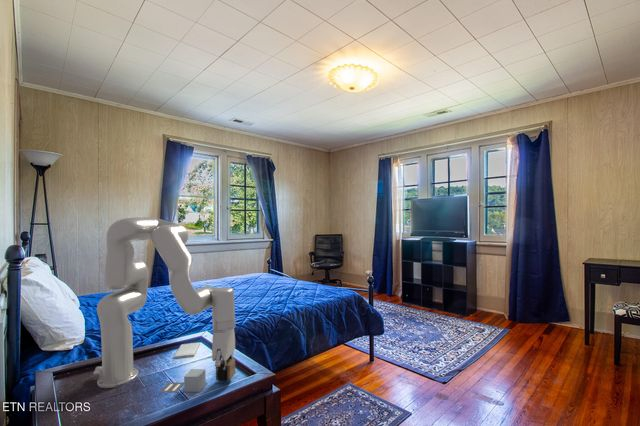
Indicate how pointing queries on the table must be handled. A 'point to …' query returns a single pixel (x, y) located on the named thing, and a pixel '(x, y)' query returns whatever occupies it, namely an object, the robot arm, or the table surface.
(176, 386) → the board
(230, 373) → the walnut block
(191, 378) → the light grey cube
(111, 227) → the robot arm
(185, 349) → the hard drive
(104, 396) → the table surface
